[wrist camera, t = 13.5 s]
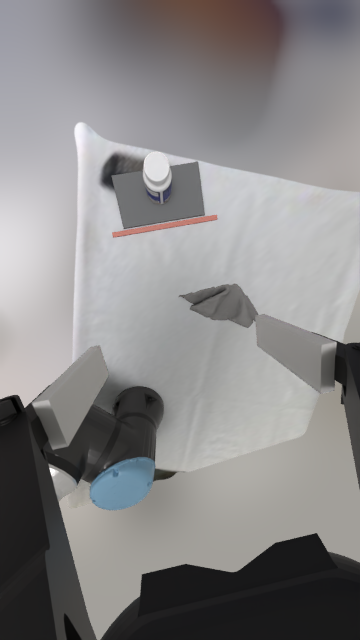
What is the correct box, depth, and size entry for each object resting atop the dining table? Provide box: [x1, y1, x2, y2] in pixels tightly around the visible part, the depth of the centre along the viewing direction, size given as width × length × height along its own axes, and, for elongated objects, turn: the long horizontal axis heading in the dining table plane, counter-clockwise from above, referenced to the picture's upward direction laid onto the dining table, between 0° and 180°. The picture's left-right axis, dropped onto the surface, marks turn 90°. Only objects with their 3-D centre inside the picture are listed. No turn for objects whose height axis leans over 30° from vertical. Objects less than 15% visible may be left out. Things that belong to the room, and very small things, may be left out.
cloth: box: [179, 284, 258, 328], centre depth 50 cm, size 26×14×2 cm, turn 61°
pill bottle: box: [143, 151, 172, 204], centre depth 37 cm, size 6×6×10 cm
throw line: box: [112, 215, 217, 237], centre depth 44 cm, size 26×1×1 cm, turn 100°
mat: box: [112, 162, 205, 229], centre depth 42 cm, size 20×11×1 cm, turn 100°
